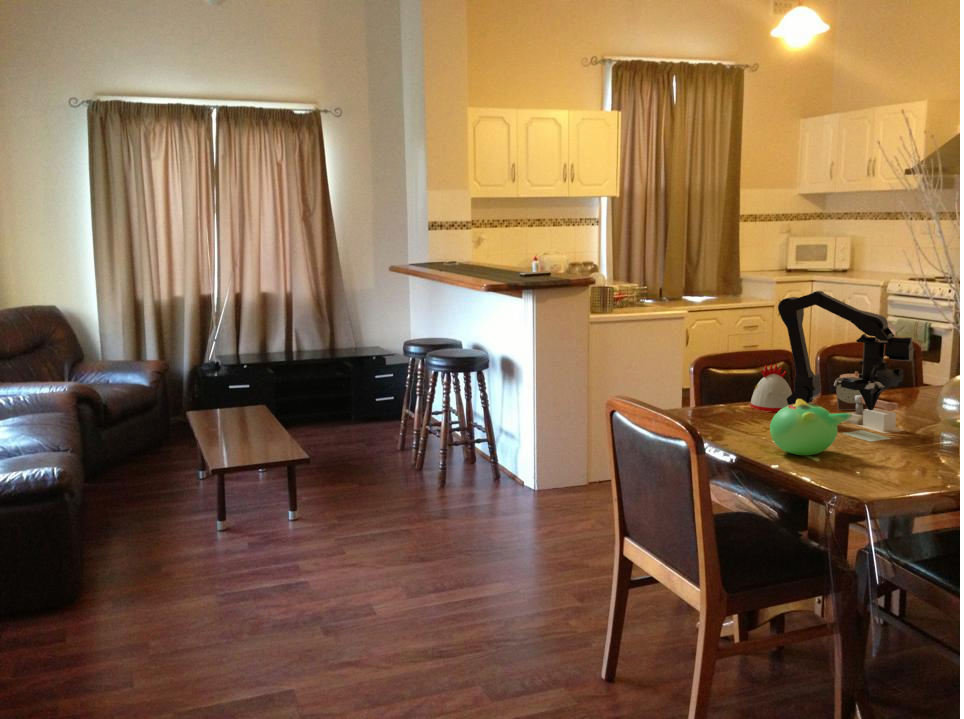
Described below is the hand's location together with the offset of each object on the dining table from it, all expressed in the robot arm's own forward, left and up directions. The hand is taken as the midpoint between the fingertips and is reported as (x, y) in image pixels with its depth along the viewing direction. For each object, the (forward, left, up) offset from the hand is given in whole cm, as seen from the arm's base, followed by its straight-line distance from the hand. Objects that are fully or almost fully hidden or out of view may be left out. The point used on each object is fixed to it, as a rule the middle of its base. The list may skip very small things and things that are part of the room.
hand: (870, 410), depth 265 cm
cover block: (+6, +2, -6) cm, 9 cm away
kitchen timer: (-3, +39, -7) cm, 40 cm away
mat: (-5, -4, -7) cm, 9 cm away
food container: (+20, +28, -7) cm, 35 cm away
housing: (+6, +4, -7) cm, 10 cm away
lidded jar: (+33, +39, -7) cm, 52 cm away
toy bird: (-34, -11, -7) cm, 37 cm away
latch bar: (+6, +4, 0) cm, 7 cm away
